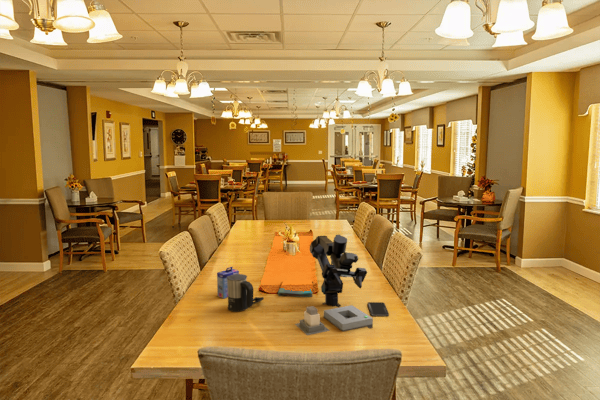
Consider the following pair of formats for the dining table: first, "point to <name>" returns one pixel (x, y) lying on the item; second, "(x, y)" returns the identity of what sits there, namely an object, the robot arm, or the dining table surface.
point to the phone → (378, 309)
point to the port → (348, 318)
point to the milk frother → (240, 293)
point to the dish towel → (294, 293)
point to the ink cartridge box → (224, 281)
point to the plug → (311, 316)
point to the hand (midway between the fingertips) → (350, 286)
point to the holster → (311, 328)
